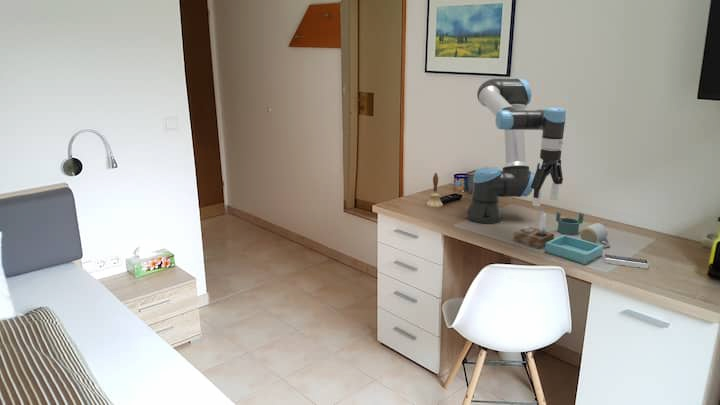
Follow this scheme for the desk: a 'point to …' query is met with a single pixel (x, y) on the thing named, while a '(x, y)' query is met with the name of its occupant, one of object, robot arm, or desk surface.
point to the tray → (574, 249)
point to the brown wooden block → (532, 237)
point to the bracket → (569, 224)
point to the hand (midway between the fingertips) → (545, 202)
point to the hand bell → (435, 195)
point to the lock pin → (542, 224)
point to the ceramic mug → (595, 234)
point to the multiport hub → (626, 261)
